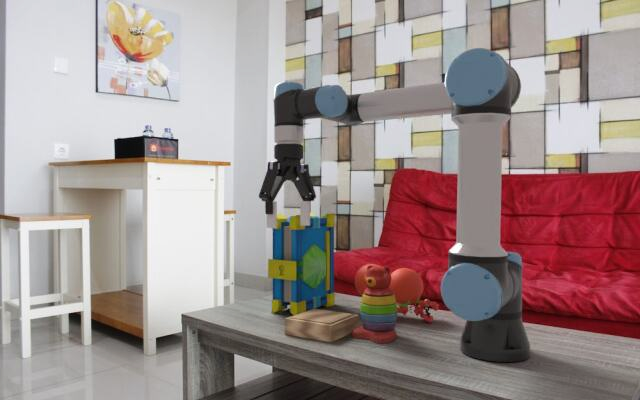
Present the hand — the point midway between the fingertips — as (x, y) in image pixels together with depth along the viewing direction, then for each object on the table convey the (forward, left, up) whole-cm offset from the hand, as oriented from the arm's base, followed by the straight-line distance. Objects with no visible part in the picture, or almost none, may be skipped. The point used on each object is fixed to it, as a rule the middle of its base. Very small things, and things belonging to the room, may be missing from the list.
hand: (289, 226), depth 132 cm
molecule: (-16, -30, -28) cm, 44 cm away
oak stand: (-6, -6, -28) cm, 29 cm away
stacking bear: (-20, -10, -28) cm, 36 cm away
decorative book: (+13, -26, -28) cm, 40 cm away
